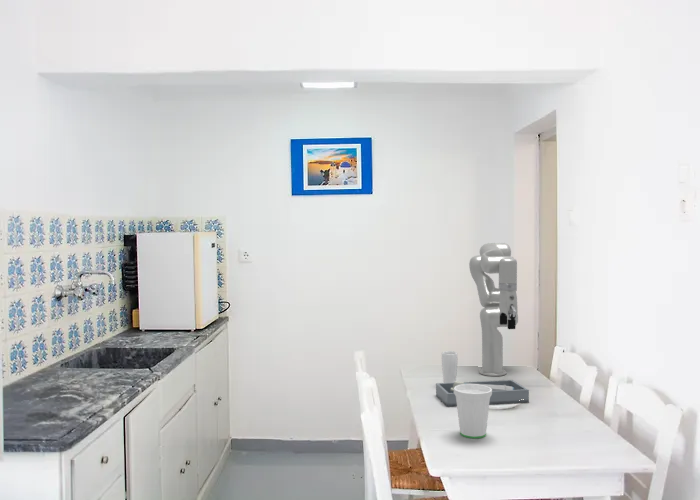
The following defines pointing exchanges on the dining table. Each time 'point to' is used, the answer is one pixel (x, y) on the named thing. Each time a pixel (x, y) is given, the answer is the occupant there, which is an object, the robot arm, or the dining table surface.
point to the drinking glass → (449, 366)
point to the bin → (496, 397)
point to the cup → (472, 409)
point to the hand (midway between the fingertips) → (507, 326)
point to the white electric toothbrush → (493, 387)
